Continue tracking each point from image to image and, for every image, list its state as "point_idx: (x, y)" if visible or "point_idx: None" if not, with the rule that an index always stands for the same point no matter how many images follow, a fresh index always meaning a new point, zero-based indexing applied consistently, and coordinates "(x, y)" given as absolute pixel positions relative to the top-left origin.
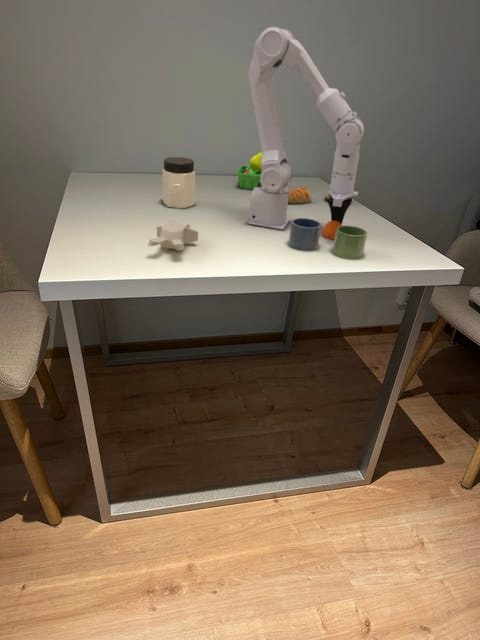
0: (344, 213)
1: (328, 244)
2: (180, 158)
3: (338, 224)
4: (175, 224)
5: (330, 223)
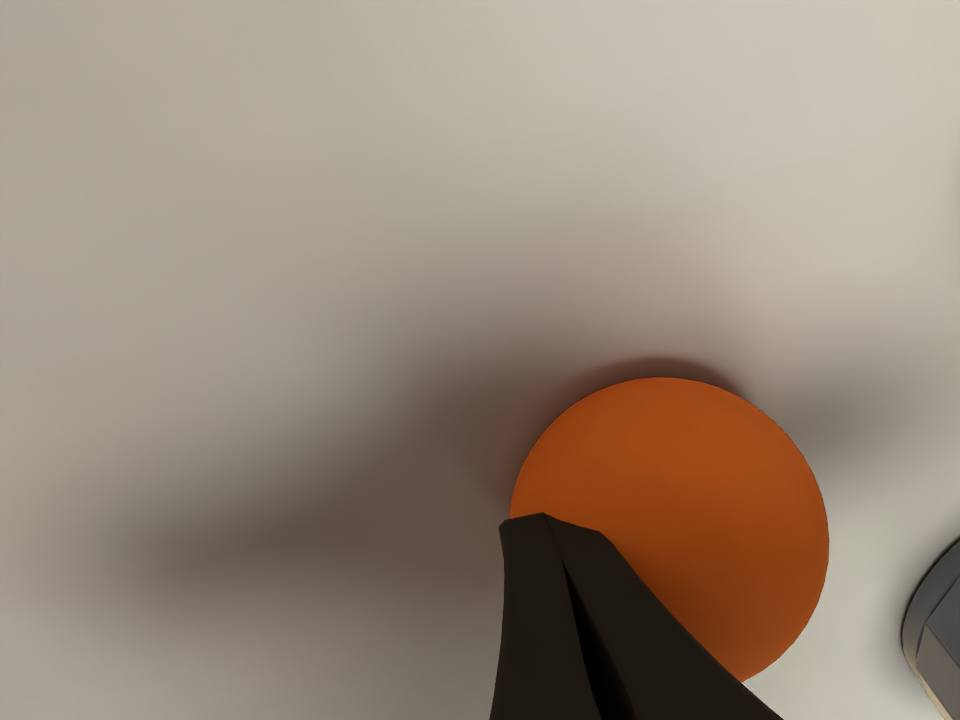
0: (777, 717)
1: (949, 413)
2: None
3: (773, 568)
4: None
5: (774, 658)
